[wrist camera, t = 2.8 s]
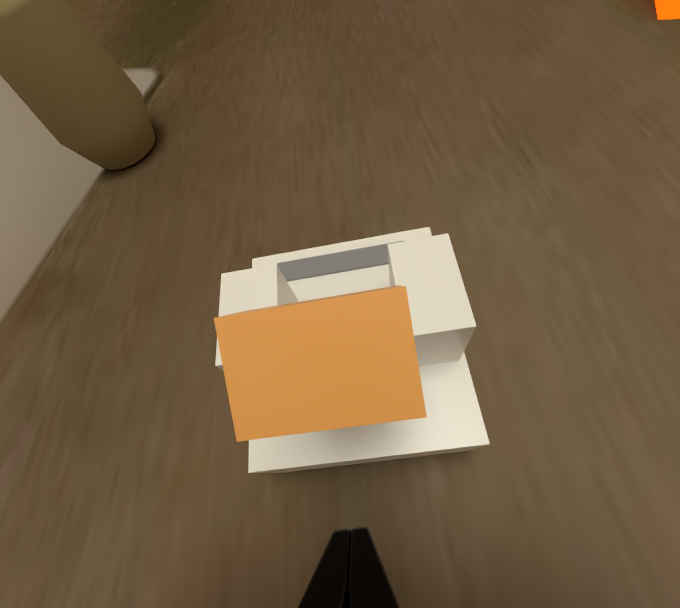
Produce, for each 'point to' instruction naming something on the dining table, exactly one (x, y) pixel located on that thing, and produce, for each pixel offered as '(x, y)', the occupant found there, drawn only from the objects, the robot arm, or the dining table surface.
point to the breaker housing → (429, 334)
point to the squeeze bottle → (73, 83)
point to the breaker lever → (321, 364)
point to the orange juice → (668, 9)
